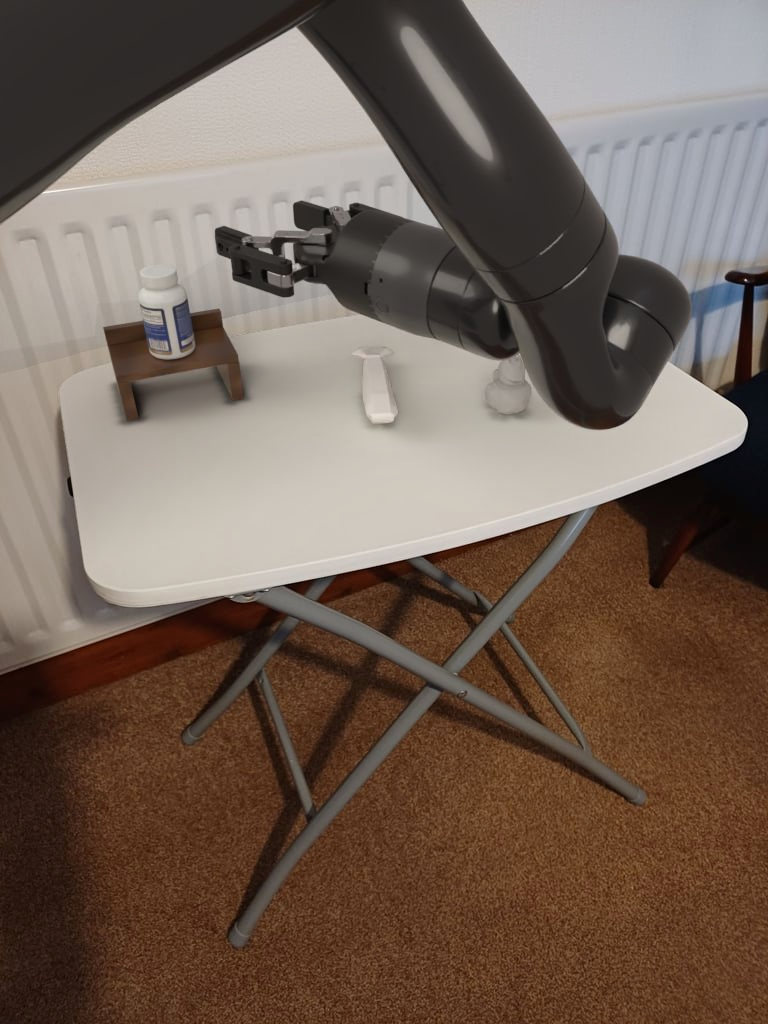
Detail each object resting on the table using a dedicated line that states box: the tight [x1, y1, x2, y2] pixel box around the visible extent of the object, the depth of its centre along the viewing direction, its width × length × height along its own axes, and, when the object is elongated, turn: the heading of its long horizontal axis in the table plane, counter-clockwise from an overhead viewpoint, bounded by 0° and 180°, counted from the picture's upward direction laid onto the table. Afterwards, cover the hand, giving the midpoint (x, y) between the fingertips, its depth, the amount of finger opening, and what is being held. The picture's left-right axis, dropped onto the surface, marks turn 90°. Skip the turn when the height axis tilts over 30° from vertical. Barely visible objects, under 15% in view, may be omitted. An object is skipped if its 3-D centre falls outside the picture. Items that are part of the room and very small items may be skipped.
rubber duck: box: [484, 354, 533, 415], centre depth 91 cm, size 5×7×8 cm
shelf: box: [102, 308, 245, 422], centre depth 94 cm, size 14×9×8 cm, turn 112°
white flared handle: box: [350, 346, 399, 425], centre depth 94 cm, size 6×18×4 cm, turn 5°
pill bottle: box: [137, 263, 195, 359], centre depth 90 cm, size 5×5×10 cm
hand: (258, 225), depth 65 cm, fingers open, 8 cm apart
